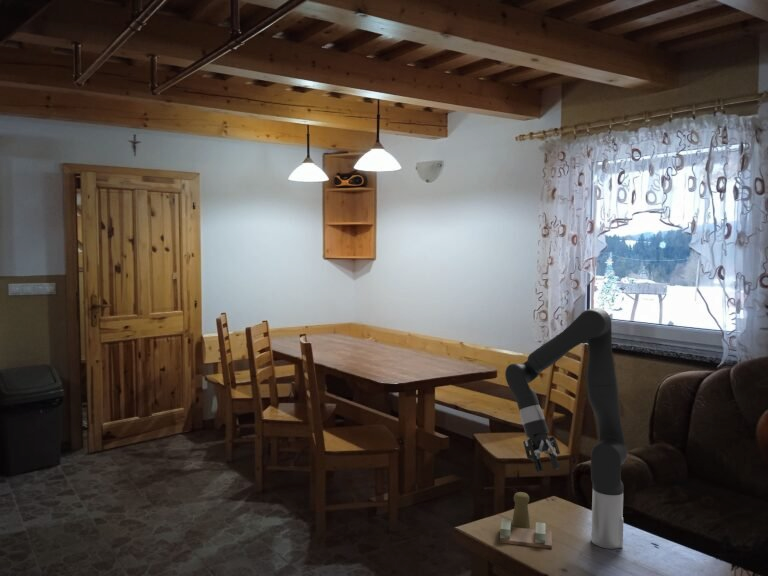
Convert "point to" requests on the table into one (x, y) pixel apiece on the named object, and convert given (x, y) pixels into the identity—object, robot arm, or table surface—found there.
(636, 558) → the table surface
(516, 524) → the cork
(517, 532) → the endcap cradle
